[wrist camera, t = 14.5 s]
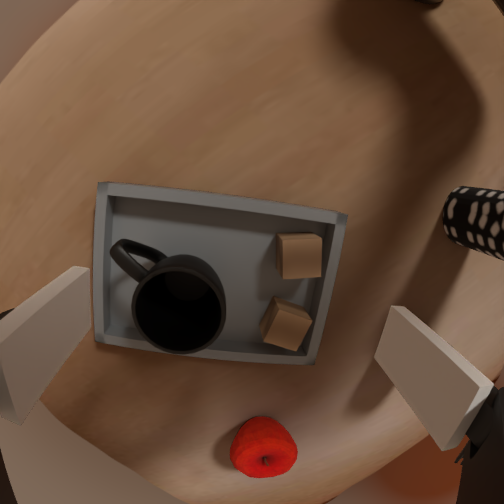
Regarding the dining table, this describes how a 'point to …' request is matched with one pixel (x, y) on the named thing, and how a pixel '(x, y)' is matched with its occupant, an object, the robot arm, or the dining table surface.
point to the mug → (173, 298)
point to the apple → (263, 448)
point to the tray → (213, 263)
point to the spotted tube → (476, 219)
